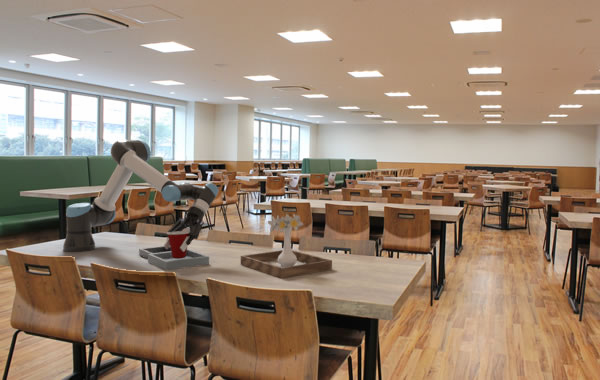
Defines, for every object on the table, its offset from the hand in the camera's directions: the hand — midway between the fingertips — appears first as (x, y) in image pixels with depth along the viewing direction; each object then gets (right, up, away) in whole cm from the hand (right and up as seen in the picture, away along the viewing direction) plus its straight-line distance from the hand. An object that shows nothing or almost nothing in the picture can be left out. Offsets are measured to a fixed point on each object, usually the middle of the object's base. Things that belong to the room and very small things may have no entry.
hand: (173, 248), depth 222 cm
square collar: (-11, -6, +19) cm, 22 cm away
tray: (+1, -7, +3) cm, 8 cm away
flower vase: (+51, -8, -2) cm, 51 cm away
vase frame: (+51, -8, -2) cm, 51 cm away
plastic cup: (+2, -5, +3) cm, 6 cm away
